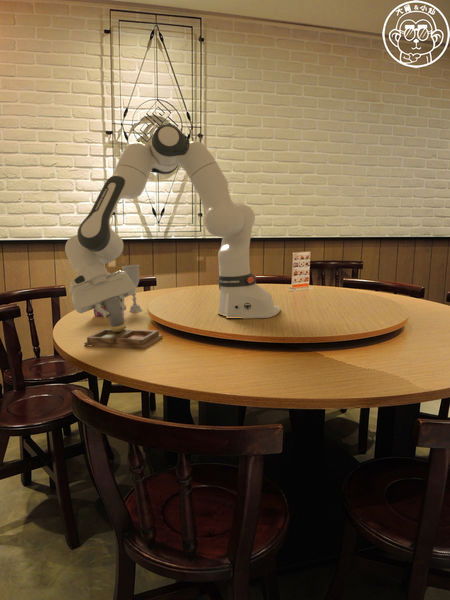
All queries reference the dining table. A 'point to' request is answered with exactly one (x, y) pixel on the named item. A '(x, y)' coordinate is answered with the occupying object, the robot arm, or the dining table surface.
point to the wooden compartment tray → (124, 338)
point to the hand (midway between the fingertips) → (115, 312)
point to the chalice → (134, 276)
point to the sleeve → (115, 314)
